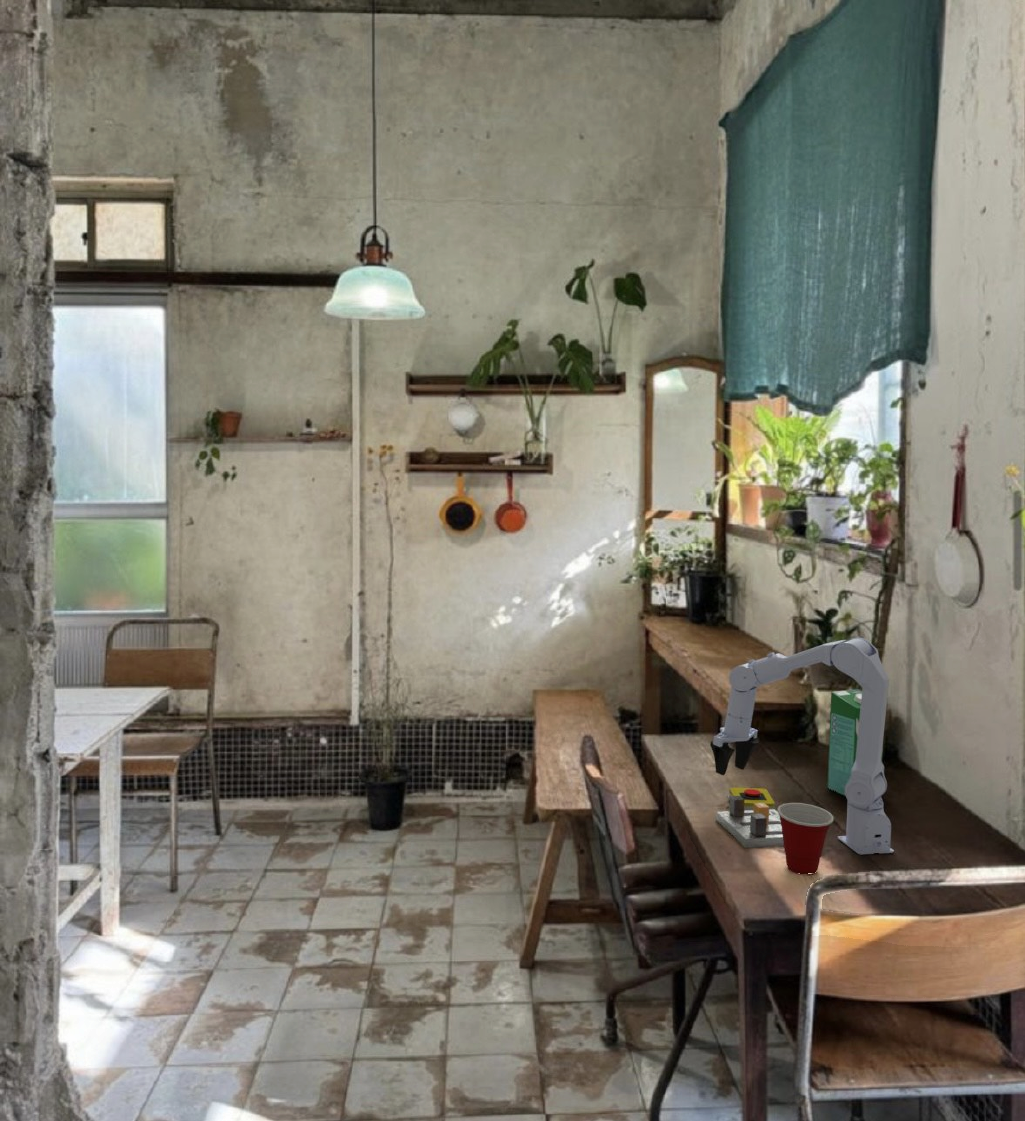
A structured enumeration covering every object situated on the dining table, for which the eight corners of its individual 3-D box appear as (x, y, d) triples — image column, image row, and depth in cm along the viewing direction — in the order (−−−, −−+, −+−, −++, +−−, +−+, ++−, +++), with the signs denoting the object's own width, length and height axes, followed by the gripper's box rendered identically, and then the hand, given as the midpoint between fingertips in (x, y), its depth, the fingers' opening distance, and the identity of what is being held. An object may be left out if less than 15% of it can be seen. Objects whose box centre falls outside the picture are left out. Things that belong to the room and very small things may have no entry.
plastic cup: (808, 885, 188) (810, 824, 187) (763, 866, 197) (765, 808, 196) (843, 872, 195) (845, 813, 194) (798, 855, 203) (800, 798, 202)
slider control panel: (807, 844, 209) (808, 817, 209) (745, 847, 207) (746, 820, 207) (774, 817, 226) (775, 792, 225) (716, 820, 224) (717, 794, 223)
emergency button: (737, 799, 227) (727, 779, 241) (736, 818, 227) (726, 797, 242) (778, 800, 226) (765, 780, 241) (777, 819, 226) (764, 798, 241)
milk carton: (853, 799, 240) (857, 698, 238) (827, 788, 248) (830, 691, 246) (881, 794, 243) (885, 695, 241) (854, 784, 252) (858, 688, 249)
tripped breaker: (768, 823, 215) (769, 806, 215) (758, 824, 215) (758, 807, 214) (763, 819, 218) (763, 802, 218) (753, 820, 217) (753, 802, 217)
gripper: (743, 705, 233) (734, 759, 235) (706, 713, 223) (697, 769, 225) (768, 715, 228) (758, 770, 230) (731, 723, 218) (722, 780, 220)
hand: (729, 770), depth 227 cm, fingers open, 7 cm apart
